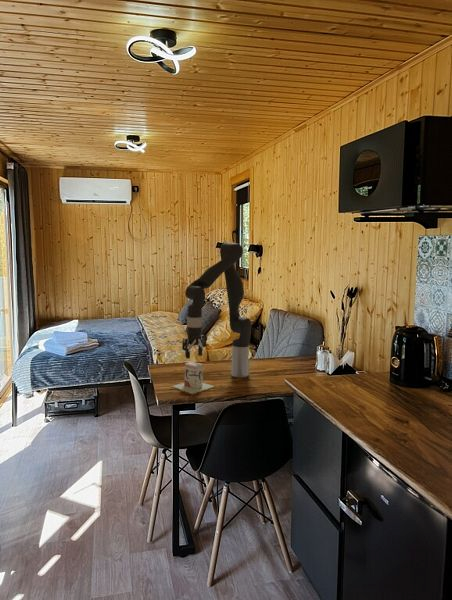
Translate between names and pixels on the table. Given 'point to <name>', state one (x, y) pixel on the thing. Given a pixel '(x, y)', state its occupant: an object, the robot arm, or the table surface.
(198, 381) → the ink box
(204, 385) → the mat
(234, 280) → the robot arm
